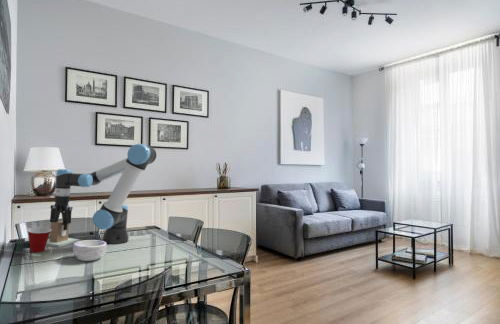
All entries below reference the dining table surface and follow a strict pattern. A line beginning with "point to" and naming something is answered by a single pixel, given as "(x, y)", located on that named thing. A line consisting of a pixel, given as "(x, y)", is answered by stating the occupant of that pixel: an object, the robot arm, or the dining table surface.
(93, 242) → the paper bowls
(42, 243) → the plastic cup
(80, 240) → the mat
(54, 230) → the lid
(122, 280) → the dining table surface
